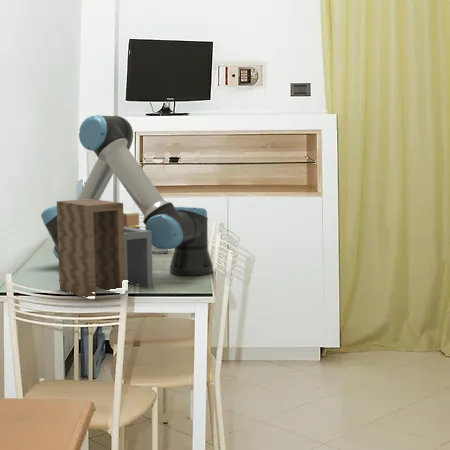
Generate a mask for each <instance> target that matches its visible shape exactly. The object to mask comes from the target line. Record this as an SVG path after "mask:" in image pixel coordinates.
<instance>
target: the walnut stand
mask: <svg viewBox="0 0 450 450" xmlns="http://www.w3.org/2000/svg"><path fill="white" fill-rule="evenodd" d="M56 206H57V227H58V254H59V259H58V273H59V274H58V277H59V290H61V291H63V292H66V291H67V293H69V292H71V293H70V294H72V293H73V294H72V295H75V296H78V297H81V296H85V297H88V296H96V297H97V289H100V290H103V291H106V290H110V289H116V288H122V281H123V280H125V255H124V217H123V210H124V203H123V202H117V201H110V200H102V199H100V200H95V199H83V200H77V199H71V200H57V201H56ZM92 292H96V294H93V293H92ZM114 294H116V295H119V294H120V293H114Z"/></svg>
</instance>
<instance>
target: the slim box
mask: <svg viewBox="0 0 450 450" xmlns="http://www.w3.org/2000/svg"><path fill="white" fill-rule="evenodd" d="M123 217H124V226H140V212H137V211H130V210H125V209H123Z"/></svg>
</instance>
